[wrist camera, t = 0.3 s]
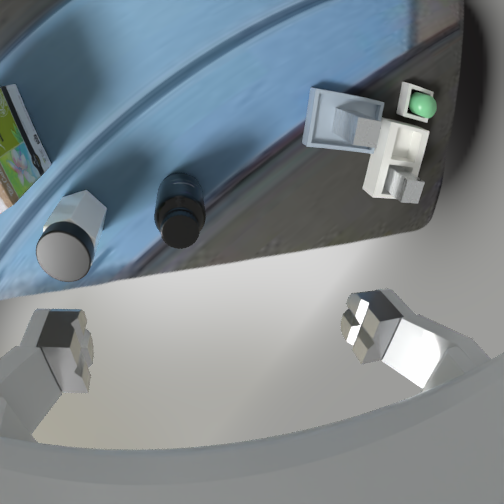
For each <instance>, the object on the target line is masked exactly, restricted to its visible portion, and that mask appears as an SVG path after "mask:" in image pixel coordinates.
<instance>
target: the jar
mask: <svg viewBox="0 0 504 504" xmlns="http://www.w3.org/2000/svg"><path fill="white" fill-rule="evenodd" d="M106 211H107V208H106V207H105V206H104V205H103V204H102V203H101V202H100V201H99V200H97V199H96V198H95V197H94V196H93V195H92V194H91V193H90V192H89V191H88V190H84V191H81V192H77V193H74V194H71V195H68V196H64V197H62V199H61V200H60V202H59V203H58V205H57V206H56V208H55V209H54V211H53V212H52V214H51V215H50V217H49V219H48V220H47V222H46V223H45V225H44V227H43V234H42V236H41V237H40V239H39V241H38V243H37V246H36V256H37V260H38V262H39V264H40V266H41V267H42V269H43V270H44V271H45V272H46V273H47V274H48V275H50V276H51V277H53V278H55V279H57V280H60V281H64V282H73V281H77V280H79V279H81V278H83V277H84V276H85V275H86V274H87V273H88V271H89V269H90V266H91V265H92V262H93V259H94V256H95V253H96V250H97V246H98V243H99V240H100V237H101V234H102V231H103V226H104V221H105V216H106Z"/></svg>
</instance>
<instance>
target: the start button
mask: <svg viewBox="0 0 504 504" xmlns="http://www.w3.org/2000/svg"><path fill="white" fill-rule="evenodd" d="M409 108H410V110H411V111H412V112H413V113H415V114H417V115H420V116H422V117H425V118H431V117H432V116H433V115H434V114H435V112H436V101H435V99H434V98H433V97H432V96H429V95H426V94H423V93H419V92H415V93H413V94H412V95H411V96H410V100H409Z"/></svg>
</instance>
